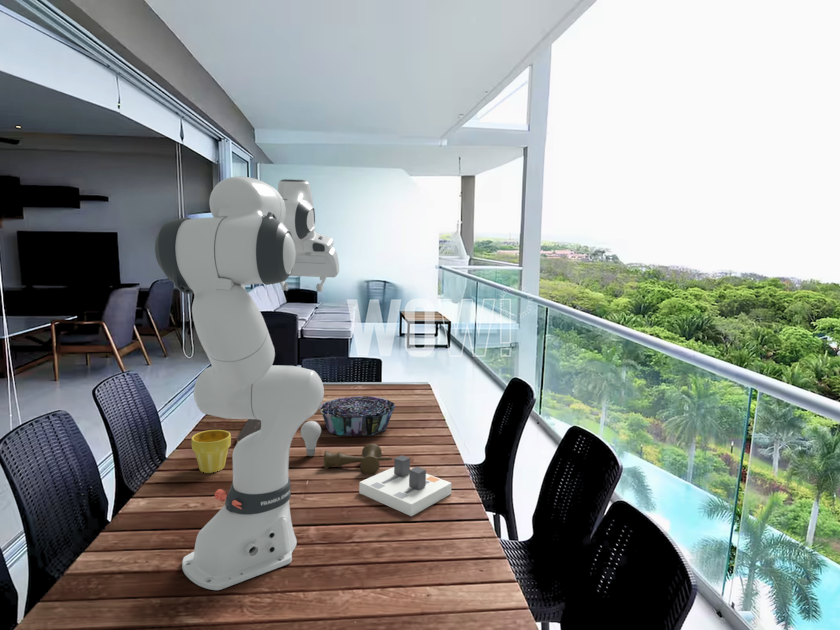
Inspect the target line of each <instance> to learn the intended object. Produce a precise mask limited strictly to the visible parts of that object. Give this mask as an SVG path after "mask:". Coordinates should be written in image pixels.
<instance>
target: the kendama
mask: <svg viewBox="0 0 840 630" xmlns="http://www.w3.org/2000/svg"><path fill="white" fill-rule="evenodd" d="M382 461H393V457H382V448H381V447H380V446H379V444H378V445H377V444H376V443H368V444H366V445H364V446H363V448H362V450H361V456H356V455H348V454H344V453H343V452H341V451H339V452H338V453H333V452H330V451H328V450H326V451H324V454H323V468H324V469H325V470H328V469H329V468H331V467H337V468H341V467H342V466H345V465H350V464H356V463H360V470H361V472H362V473H364V474H365V475H374V474H375V475H376V474H377V473H378V471H379V470H380V462H382Z"/></svg>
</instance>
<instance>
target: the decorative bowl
mask: <svg viewBox="0 0 840 630" xmlns="http://www.w3.org/2000/svg"><path fill="white" fill-rule="evenodd" d="M395 408H396V404H395V402H393V401H390V400H389V399H386V398H382V397H378V396H377V397H376V396H370V395H366V396H365V395H364V396H348V397H340V398H335V399H331V400H327V401H325V402H322V404H321V406H320V408H319V409H318V410H320V413H321V415H322V418H323V421H324V424H325V426H326V429H327V430H328V432H329V433H330V434H333V435H336V436H340V437H344V436H345V437H350V436H351V437H361V436H374V435H376V434H379V432H380V433H381V431H382V432H384V431H386V429H387V428H388V426H389V423H390V420H391V417H392V415H393V412H394V411H395ZM352 435H353V436H352Z"/></svg>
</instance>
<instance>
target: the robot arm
mask: <svg viewBox="0 0 840 630" xmlns="http://www.w3.org/2000/svg"><path fill="white" fill-rule="evenodd" d="M208 201H209V209H210V213H211V215H212V217H199V218H190V217H180V218H175V219H172V220H168V221H166V222H164V223H163V224H162V225H161V227H160V228H159V230H158V232H157V234H156V237H155V241H154V243H155V244H154V251H155V252H154V253H155V258H156V261H157V264H158V267H159V268H160V270H161V271H162V272H163V273H164V275H165V276H166V278H167V279H168V280H169V281H170V282H172V283H173V284H174V285H175V287H176V289H177V290H178V291H179V292H181V293H183V294H186V295H190V294H192V293H193V295H194V296H193V297H194V298H193V302H192V305H191V313H192V320H193V325H194V328H195V329H194V330H195V331H196V334H197V337H198V339H199V342H200V345H201V347H202V348H203V350H204V352H205V354H206V356H207V358H208V361H209V362H210V364H211V366H209V367H207V368H205V369H204V370H203V371H201V372H200V374H199V375H198V376H197V379H196V380H195V384H194V387H193V397H194V399H193V400H194V402H195V405H196V407H197V408H198V410H199V411H200V412H201V413H202V414H205V415H207V416H213V417H216V418H222V419H226V420H227V419H233V420H236V419H237V420H238V419H239V420H243V419H244V420H248V419H258V420H261V430H259V431H257V432H254V433H252V434H250V435H248V436H246V437H245V438H243V439H242V440H240V441H239V442H238V443H237V442H236V444H235V446H234V448H233V451H232V483H231V485H230V489H229V490H228V492H227V491H225V490H224V489H222V488H220V489H217V490H216V491H215V493H214V498H215V499H216V500H218V501H219V502H224V501H225V503H224V505H223V506H222V507H221V508H220V509H219V511H218V512H216V514H215V515H214V516H213V517H212V518H211V519H210V520H209V521H208V522H207V523H206V524H205V525H204V526H203V527H202V528H201V529H200V530H199V532H197V536H196V539H195V544H194V550H193V551H191V552H190V553H188V554H187V555H185V556H184V557H183V558H182V562H181V563H182V564H181V566H182V572H183V573H184V575H185V576H186V578H188V579H189V580H190V581H191V582H192V583H194V584H195V585H197V586H199V587H201V588H204V589H207V590H212V591H220V590H223V589H226V588H228V587H231V586H233V585H234V586H235V585H236V584H237V585H238V584H239V583H242V582H244V581H247V580H249V579H252V578H255V577H257V576H260V575H263V574H265V573H268V572H271V571H273V570H276V569H278V568H282V567H284V566H287V565H289V564H291V563H292V561H293V553H294V551H295V550H296V549H295V548H296V547H297V537H296V533H295V531H294V528H293V522H292V516H291V515H292V514H291V507H290V498H291V494H292V493H291V490H292V489H291V478H290V476H289V464H290V463H289V462H290V449H291V445H292V441H293V438H294V436H295V435H296V433H297V431H298V430H299V428H300V427H302V426H303V424H304V423H306V422H307V420H309V419H311V417H313V416H314V415H315V414H316V413H317V412H318V411H319V410H320V409H319V408H320V406H321V405H322V404H323V400H324V396H325V388H324V383H323V381H322V379H321V376H320V375H319V374H318V373H317V372H316V371H315V370H313V369H308V368H306V367H301V366H295V365H279V364H278V365H276V364H275V365H273V364H274V361H275V357H276V352H275V346H274V344H273V341H272V338H271V334H270V333H269V329H268V327H267V324H266V322H265V318H264V316H263V315H262V314H263V313H261V311H260V308H259V307H258V305H257V303H256V301H255V300H254V299H253V297H252V296H251V295H250V294H249V292H248V291H247V290H246V286H247V285H258V284H259V285H260V284H263V285H265V286H268V285H274V284H280V285H281V291H282V292H283V291H286V292H288V291H289V288H290V287H289V282H286V280H287V279H288V278H289V277H308V278H309V277H310V278H311V277H313V278H314V277H315V278H319V281H321V282H320V283H317V284H316V287H315V289H316V292H319V293H320V292H321V293H322V292H323V291H324V283H325V281H326V279H327V278H336V277H337V275H339V272H340V263H339V257H338V253H337V251H336V249H335V248H334V238H332V237H329V236H327V235H324V234H322V233H318V232H316V227H315V226H316V213H315V208H314V199H313V194H312V188H311V185H310V182H308V181H307V180H305V179H292V178H291V179H290V178H289V179H288V178H285V179H284V178H283V179H281V180H279V181H278V185H277V189H276V188H275V187H273V186H272V185H270V184H268V183H266V182H265V181H263V180H260V179H257V178H254V177H250V176H249V177H248V176H230V177H227V178H224V179H222V180H221V181H219V182H218V183H217V184H216V185H215V186H214V188H213V189H212V191H211V192H210V195H209V200H208Z"/></svg>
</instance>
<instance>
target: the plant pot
mask: <svg viewBox="0 0 840 630" xmlns="http://www.w3.org/2000/svg"><path fill="white" fill-rule="evenodd" d="M231 445H232V435H231V432H230V431H227V430H223V429H210V430H209V429H208V430H204V431H200V432H197V433H195V434H193V435H192V437H191V450H192V451H193V452H194V455H195V458H196V460H197V464H198V469H199V471H200V472H201V473H203V472H204V473H203V474H212V473H213V472H214V473H217V471H218V472H220V471H222V470H223V469H224V468H225V466H226V460H227V457H228V452H229V448H230V447H231Z"/></svg>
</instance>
